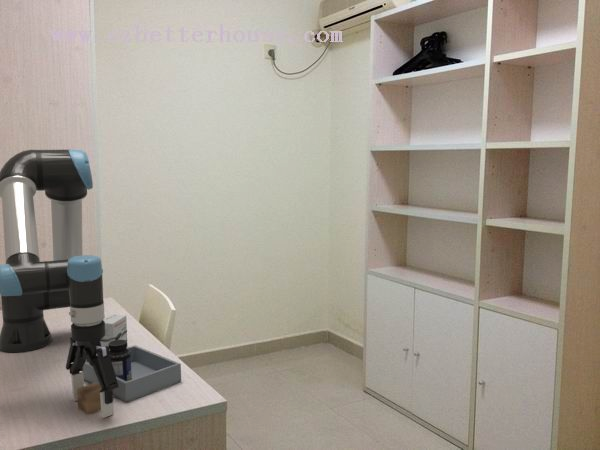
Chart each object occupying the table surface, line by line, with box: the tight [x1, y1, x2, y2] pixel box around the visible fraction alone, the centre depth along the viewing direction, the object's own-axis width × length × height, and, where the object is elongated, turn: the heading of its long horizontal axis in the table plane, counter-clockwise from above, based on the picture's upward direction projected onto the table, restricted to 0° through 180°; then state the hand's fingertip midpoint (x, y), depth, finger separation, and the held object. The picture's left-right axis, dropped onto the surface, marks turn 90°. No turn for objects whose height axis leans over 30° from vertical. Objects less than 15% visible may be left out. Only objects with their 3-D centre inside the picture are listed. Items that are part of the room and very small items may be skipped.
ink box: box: [100, 314, 129, 351], centre depth 168 cm, size 8×5×12 cm, turn 168°
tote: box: [81, 344, 182, 404], centre depth 151 cm, size 22×17×5 cm
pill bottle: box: [108, 340, 132, 381], centre depth 148 cm, size 6×6×11 cm
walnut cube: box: [76, 383, 102, 415], centre depth 136 cm, size 5×5×5 cm
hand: (92, 407), depth 136 cm, fingers open, 13 cm apart
